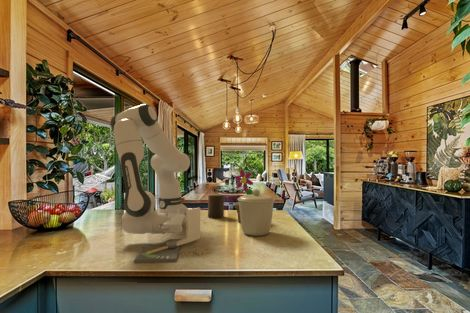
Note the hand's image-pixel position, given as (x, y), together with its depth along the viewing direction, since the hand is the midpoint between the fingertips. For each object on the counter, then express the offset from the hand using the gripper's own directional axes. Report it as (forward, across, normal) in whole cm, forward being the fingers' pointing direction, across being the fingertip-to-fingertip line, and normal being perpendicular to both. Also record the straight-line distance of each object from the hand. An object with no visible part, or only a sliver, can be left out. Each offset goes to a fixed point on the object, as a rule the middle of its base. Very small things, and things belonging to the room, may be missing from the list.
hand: (194, 222), depth 118 cm
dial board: (-12, -16, +8) cm, 22 cm away
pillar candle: (+11, +50, +8) cm, 52 cm away
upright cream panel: (-7, -10, +6) cm, 14 cm away
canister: (+29, +11, +8) cm, 32 cm away
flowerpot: (+28, +34, +8) cm, 45 cm away
